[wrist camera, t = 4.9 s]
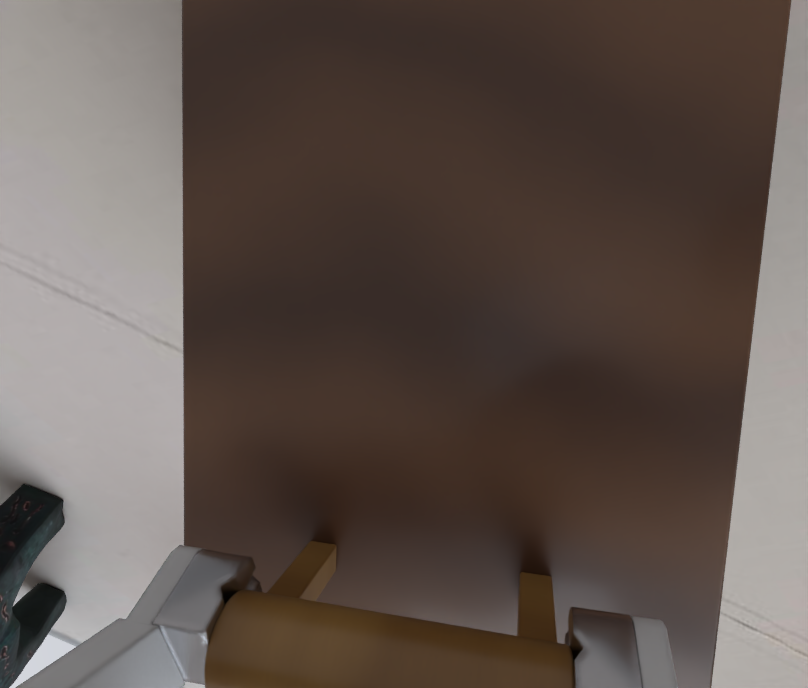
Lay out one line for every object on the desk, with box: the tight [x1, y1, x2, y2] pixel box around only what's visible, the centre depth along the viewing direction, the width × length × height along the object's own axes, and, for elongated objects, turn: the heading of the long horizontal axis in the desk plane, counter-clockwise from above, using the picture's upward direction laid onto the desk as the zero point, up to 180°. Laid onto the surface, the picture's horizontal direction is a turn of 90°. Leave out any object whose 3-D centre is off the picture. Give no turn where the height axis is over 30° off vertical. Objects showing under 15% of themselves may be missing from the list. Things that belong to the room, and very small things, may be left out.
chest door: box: [182, 0, 791, 688], centre depth 11 cm, size 15×13×5 cm
